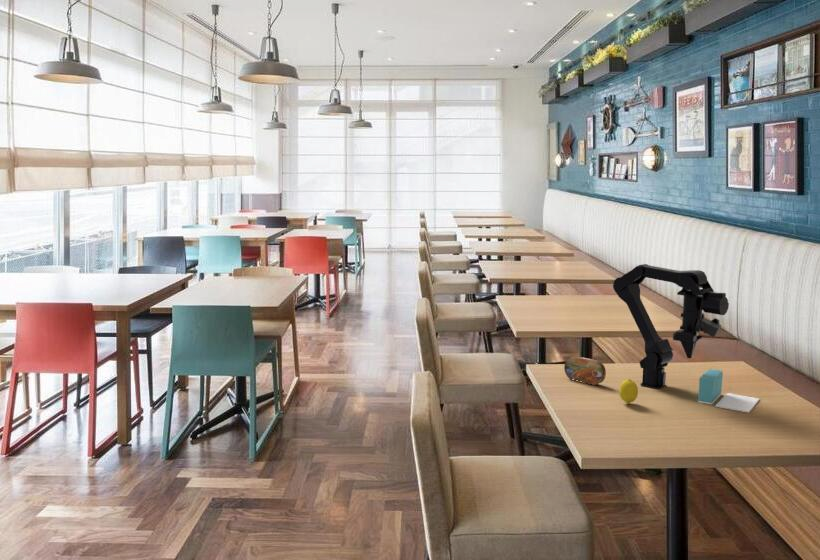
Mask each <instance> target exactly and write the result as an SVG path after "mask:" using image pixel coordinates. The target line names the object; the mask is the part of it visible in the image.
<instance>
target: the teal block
mask: <svg viewBox="0 0 820 560" xmlns="http://www.w3.org/2000/svg"><path fill="white" fill-rule="evenodd" d="M723 373H724V370H719V369H713V368H709V369H708V370H707V371H705V373H703V374H702V375H701V376H700V377H699V384H698V385H699V386H698V399H697V400H698V402H697V403H701V404H707V405H713V404H714V403H715V402H716V401H717V400H718V398H720V396H721V395H722V389H723V377H724V376H723V375H724V374H723Z"/></svg>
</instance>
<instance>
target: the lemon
mask: <svg viewBox="0 0 820 560" xmlns="http://www.w3.org/2000/svg"><path fill="white" fill-rule="evenodd" d="M638 393H639V389H638V385H637V384H636V382H635V381H633V380H631V378H628V379H626V380H624V381H622V382H621V383H620V385H619V390H618V394H619V397H620V399H621V400H622V401H623V402H625V403H626V404H627V405H629V404H631V403H633V402H634V401H636V399H637V398H638V395H639V394H638Z"/></svg>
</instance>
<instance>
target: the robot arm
mask: <svg viewBox="0 0 820 560" xmlns="http://www.w3.org/2000/svg"><path fill="white" fill-rule="evenodd" d="M646 278H648V279H653V280H657V281H663V282H667V283H672V284H675V285H676V286H677V287H680V288H681V289H680V290H679V291H677V293H676V294H677V296H678V295H679V296H683V303H682V305H683V306H682V312H681V313H680V317H681V320H682V321H681V325H680V326H679V329H678V330H676V331H675V332H674V333H673V334H672V340H673V341H677V342H680V344H681V347H682V348H683V350H684V353H685V356H686V358H687V359H692V358H693V355H694V352H695V348H696V347H697V346H696V345H697V343H698V342H699V341H700V340H702V338H703V337H704V336H703V335H699V333H700V332H703V333H704V334H707V335H709V336H710V337H712V338H714V337H716V336H718V334H719V332H720V330H721V329H722V324H720V319H718V318H716V317H715V318H713V319H711V320H710V319H708V318H705V313H707V314H713V315H719V316H725V315H727V312H728V310H729V307H730V305H729V304H730V303H729V300H728V298H727V297H726V296H727V295H726V294H727V293H725V292H716V291H714V289H713V287H712V286H711V284H710V282H709V280H708V277H707V274H706V273H705V272H704V271H703V270H701V269H700V270H698V269H697V270H696V269H692V270H677V269H670V268H665V267H660V266H655V265H649V264H646V263H643V264H638V265H636V266H635V267H634V268H633V269H631V270H629V271H628V272H627V273H624V274H623V275H622V276H619V277H616V278H615V279H614V281H613V284H612V288H613V291H614V292H615V294H616V295H617V297H618V298H619V299H620V300H622V302H624V303H625V304H626V306H627V308H628V310H629V312H630V314H631V316H632V318H633V320H634V322H635V324H636V327H637V328H638V331H639V333H640V335H641V337H642V339H643V341H644V353H645V356H644V357H643V359H641V360H640V361H639V366H640V368H641V369H642V381H641V383H640V386H643V387H648V388H654V389H661V388H663V387H664V386H665V385H666V382H667V381H666V377H667V372H665V367H667V366H669V363H670V362H671V361H672V360H673V357H674V352H673V351H674V349H673V347H672V346H671V345H670V341H669V340H668V338H665V339H663V338H661V337H660V335H659V334H658V332H657V330H656V328H655V325H654V324H653V322H652V320H651V317H650V316H649V314H648V311H647V310H646V308H645V305H644V303H643V301H642V298H641V287H640V284H641V283H643V282H644V280H645V279H646Z"/></svg>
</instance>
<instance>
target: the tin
mask: <svg viewBox="0 0 820 560" xmlns="http://www.w3.org/2000/svg"><path fill="white" fill-rule="evenodd" d="M563 368H564V369H563V370H564V373H565V375H566V377H568V379H569V380H571V379H574V380H578V381H582V382H586V383H589V384H588V385H590V384H592V385H591V386H597V385H599V384H601V383H602V382H604V380H605V379H606V375H607V370H606V367H605V365H604V364H603V363H602V362H601V361H599V360H598V359H597V360H596V359H592V358H587V357H583V356H578V355H577V356H571V357H568V359H566V361H565V363H564V366H563ZM586 383H585V384H586Z"/></svg>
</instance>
